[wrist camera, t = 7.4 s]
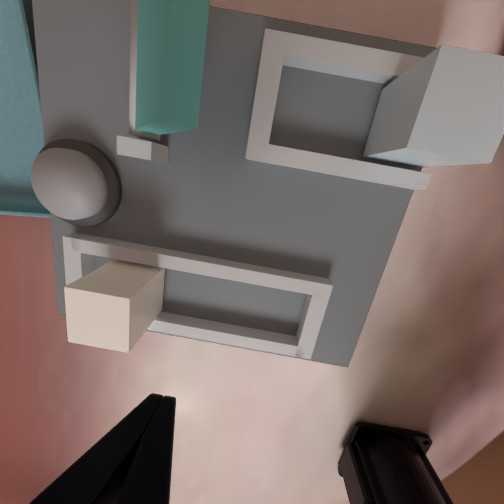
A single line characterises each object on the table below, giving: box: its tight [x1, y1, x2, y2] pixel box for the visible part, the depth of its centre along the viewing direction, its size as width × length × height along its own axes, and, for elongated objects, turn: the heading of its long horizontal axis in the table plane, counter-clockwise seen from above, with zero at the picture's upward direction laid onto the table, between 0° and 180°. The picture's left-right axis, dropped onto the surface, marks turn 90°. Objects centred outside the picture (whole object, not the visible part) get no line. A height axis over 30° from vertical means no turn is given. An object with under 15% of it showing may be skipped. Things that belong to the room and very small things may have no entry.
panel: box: [31, 0, 437, 367], centre depth 14 cm, size 20×18×4 cm
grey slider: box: [362, 45, 504, 167], centre depth 10 cm, size 3×3×4 cm
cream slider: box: [64, 259, 165, 353], centre depth 13 cm, size 3×3×4 cm
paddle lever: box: [129, 0, 210, 141], centre depth 9 cm, size 1×5×7 cm
